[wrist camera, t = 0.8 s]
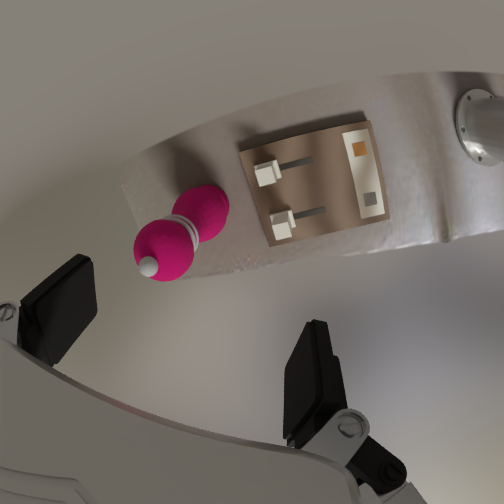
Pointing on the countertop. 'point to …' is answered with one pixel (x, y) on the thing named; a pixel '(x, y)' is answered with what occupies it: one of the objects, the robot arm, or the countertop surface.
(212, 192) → the pepper mill
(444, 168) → the countertop surface
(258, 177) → the tab
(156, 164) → the countertop surface
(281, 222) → the tab
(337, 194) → the switch board
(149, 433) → the robot arm
